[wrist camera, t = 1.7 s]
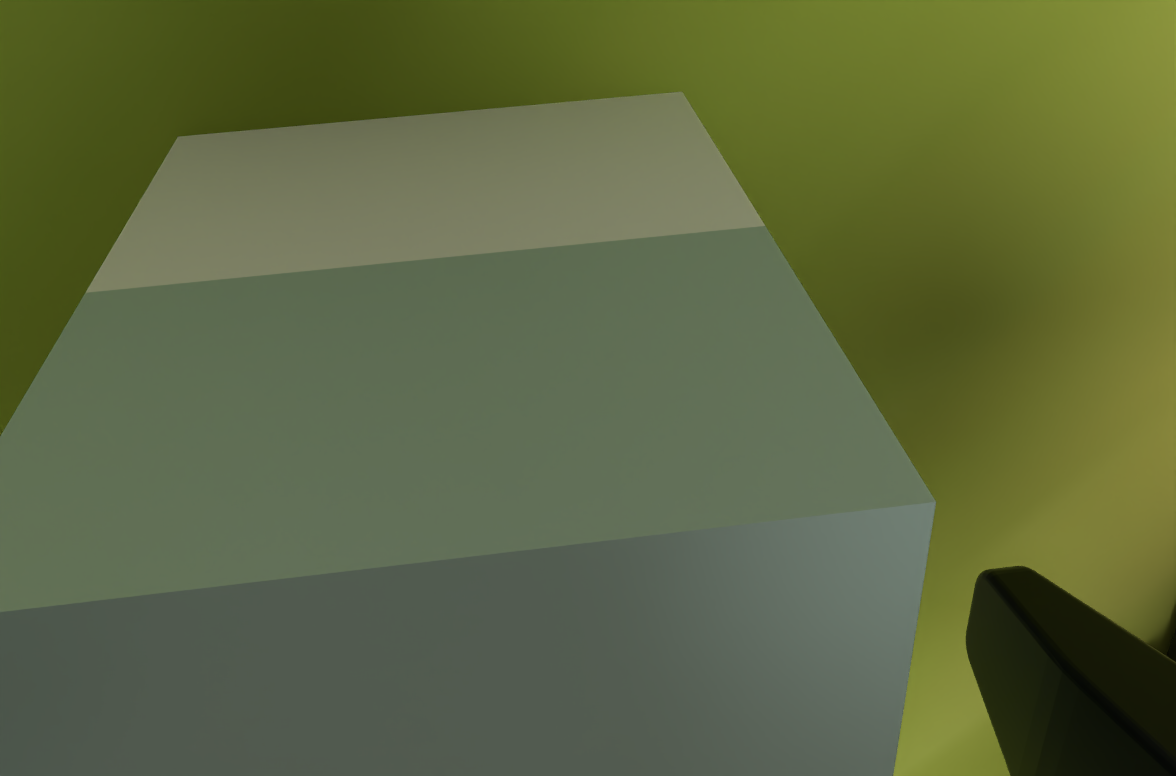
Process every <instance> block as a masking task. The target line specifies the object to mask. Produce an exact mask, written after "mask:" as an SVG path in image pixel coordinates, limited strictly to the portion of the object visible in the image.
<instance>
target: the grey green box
mask: <svg viewBox="0 0 1176 776" xmlns="http://www.w3.org/2000/svg"><path fill="white" fill-rule="evenodd" d="M935 505H936V501H935V499H934V498H933V496H932V494H931V493H930V491H929V490H928V488H927V486H926V485H925V483H924V482H923V480H922V478H921V477H920V475H919V473H918V472H917V470H916V469H915V467H914V465H913V464H912V462H911V461H910V459H909V457H908V456H907V454H906V452H905V451H904V449H903V448H902V446H901V444H900V443H899V441H898V440H897V438H896V436H895V435H894V433H893V431H892V430H891V428H890V427H889V425H888V423H887V422H886V420H885V419H884V417H883V415H882V414H881V412H880V410H879V409H878V407H877V406H876V404H875V402H874V401H873V399H872V398H871V396H870V394H869V393H868V391H867V389H866V388H865V386H864V385H863V383H862V381H861V380H860V378H859V377H858V375H857V373H856V372H855V370H854V368H853V367H852V365H851V364H850V362H849V360H848V359H847V357H846V355H845V354H844V352H843V351H842V349H841V347H840V346H839V344H838V343H837V341H836V339H835V338H834V336H833V334H832V333H831V331H830V330H829V328H828V326H827V325H826V323H825V322H824V320H823V318H822V317H821V315H820V313H819V312H818V310H817V309H816V307H815V305H814V304H813V302H812V301H811V299H810V297H809V296H808V294H807V292H806V291H805V289H804V288H803V286H802V284H801V283H800V281H799V280H798V278H797V276H796V275H795V273H794V271H793V270H792V268H791V267H790V265H789V263H788V262H787V260H786V259H785V257H784V255H783V254H782V252H781V250H780V249H779V247H778V246H777V244H776V242H775V241H774V239H773V238H772V236H771V234H770V233H769V231H768V229H767V228H766V226H765V225H764V223H763V221H762V220H761V218H760V216H759V215H758V213H757V212H756V210H755V208H754V207H753V205H752V204H751V202H750V200H749V199H748V197H747V195H746V194H745V192H744V191H743V189H742V187H741V186H740V184H739V183H738V181H737V179H736V178H735V176H734V174H733V173H732V171H731V170H730V168H729V166H728V165H727V163H726V162H725V160H724V158H723V157H722V155H721V153H720V152H719V150H718V149H717V147H716V145H715V144H714V142H713V141H712V139H711V137H710V136H709V134H708V132H707V131H706V129H705V128H704V126H703V124H702V123H701V121H700V120H699V118H698V116H697V115H696V113H695V111H694V110H693V108H692V107H691V105H690V103H689V102H688V100H687V99H686V97H685V95H684V94H683V92H673V93H661V94H650V95H639V96H628V97H616V98H605V99H594V100H583V101H572V102H560V103H549V104H538V105H527V106H516V107H504V108H493V109H482V110H471V111H460V112H448V113H437V114H426V115H415V116H404V117H392V118H381V119H370V120H359V121H347V122H336V123H325V124H314V125H303V126H291V127H280V128H269V129H258V130H247V131H235V132H224V133H213V134H202V135H191V136H179V137H177V139H176V141H175V142H174V144H173V146H172V147H171V149H170V151H169V153H168V154H167V156H166V158H165V159H164V161H163V163H162V164H161V166H160V168H159V169H158V171H157V173H156V174H155V176H154V178H153V180H152V181H151V183H150V185H149V186H148V188H147V190H146V191H145V193H144V195H143V196H142V198H141V200H140V201H139V203H138V205H137V207H136V208H135V210H134V212H133V213H132V215H131V217H130V218H129V220H128V222H127V223H126V225H125V227H124V228H123V230H122V232H121V234H120V235H119V237H118V239H117V240H116V242H115V244H114V245H113V247H112V249H111V250H110V252H109V254H108V255H107V257H106V259H105V261H104V262H103V264H102V266H101V267H100V269H99V271H98V272H97V274H96V276H95V277H94V279H93V281H92V282H91V284H90V286H89V287H88V289H87V291H86V293H85V294H84V296H83V298H82V299H81V301H80V303H79V304H78V306H77V308H76V309H75V311H74V313H73V314H72V316H71V318H70V320H69V321H68V323H67V325H66V326H65V328H64V330H63V331H62V333H61V335H60V336H59V338H58V340H57V341H56V343H55V345H54V347H53V348H52V350H51V352H50V353H49V355H48V357H47V358H46V360H45V362H44V363H43V365H42V367H41V368H40V370H39V372H38V374H37V375H36V377H35V379H34V380H33V382H32V384H31V385H30V387H29V389H28V390H27V392H26V394H25V395H24V397H23V399H22V401H21V402H20V404H19V406H18V407H17V409H16V411H15V412H14V414H13V416H12V417H11V419H10V421H9V422H8V424H7V426H6V428H5V429H4V431H3V433H2V434H1V436H0V776H893V773H894V766H895V760H896V753H897V747H898V741H899V734H900V728H901V722H902V715H903V709H904V703H905V696H906V690H907V683H908V677H909V671H910V664H911V658H912V652H913V645H914V639H915V633H916V626H917V620H918V613H919V607H920V601H921V594H922V588H923V582H924V575H925V569H926V563H927V556H928V550H929V543H930V537H931V531H932V524H933V518H934V512H935Z"/></svg>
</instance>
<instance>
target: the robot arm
mask: <svg viewBox="0 0 1176 776" xmlns="http://www.w3.org/2000/svg"><path fill="white" fill-rule="evenodd" d="M966 648H967V654H968V658H969V661H970V664H971V667H972V670H973V673H974V676H975V678H976V681H977V684H978V687H979V689H980V692H981V695H982V698H983V701H984V703H985V706H986V709H987V712H988V714H989V717H990V720H991V723H992V726H993V728H994V731H995V734H996V737H997V739H998V742H999V745H1000V748H1001V751H1002V753H1003V756H1004V759H1005V762H1006V764H1007V767H1008V770H1009V773H1010V776H1176V630H1175V633H1174V636H1173V639H1172V642H1171V645H1170V648H1169V651H1168V654H1167V656H1165V655H1164V654H1162V653H1161V652H1159V651H1158V650H1156V649H1155V648H1153V647H1152V646H1150V645H1148V644H1147V643H1145V642H1144V641H1142V640H1141V639H1139V638H1138V637H1136V636H1135V635H1133V634H1131V633H1130V632H1128V631H1127V630H1125V629H1124V628H1122V627H1121V626H1119V625H1117V624H1116V623H1114V622H1113V621H1111V620H1110V619H1108V618H1107V617H1105V616H1104V615H1102V614H1100V613H1099V612H1097V611H1096V610H1094V609H1093V608H1091V607H1090V606H1088V605H1087V604H1085V603H1083V602H1082V601H1080V600H1079V599H1077V598H1076V597H1074V596H1073V595H1071V594H1070V593H1068V592H1066V591H1065V590H1063V589H1062V588H1060V587H1059V586H1057V585H1056V584H1054V583H1053V582H1051V581H1049V580H1048V579H1046V578H1045V577H1043V576H1042V575H1040V574H1039V573H1037V572H1036V571H1034V570H1032V569H1030V568H1027V567H1025V566H1014V567H1005V568H997V569H989V570H985V571H983V572H982V573H980V575H979V576H978V578H977V580H976V584H975V588H974V594H973V599H972V604H971V609H970V615H969V620H968V625H967V631H966Z"/></svg>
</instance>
